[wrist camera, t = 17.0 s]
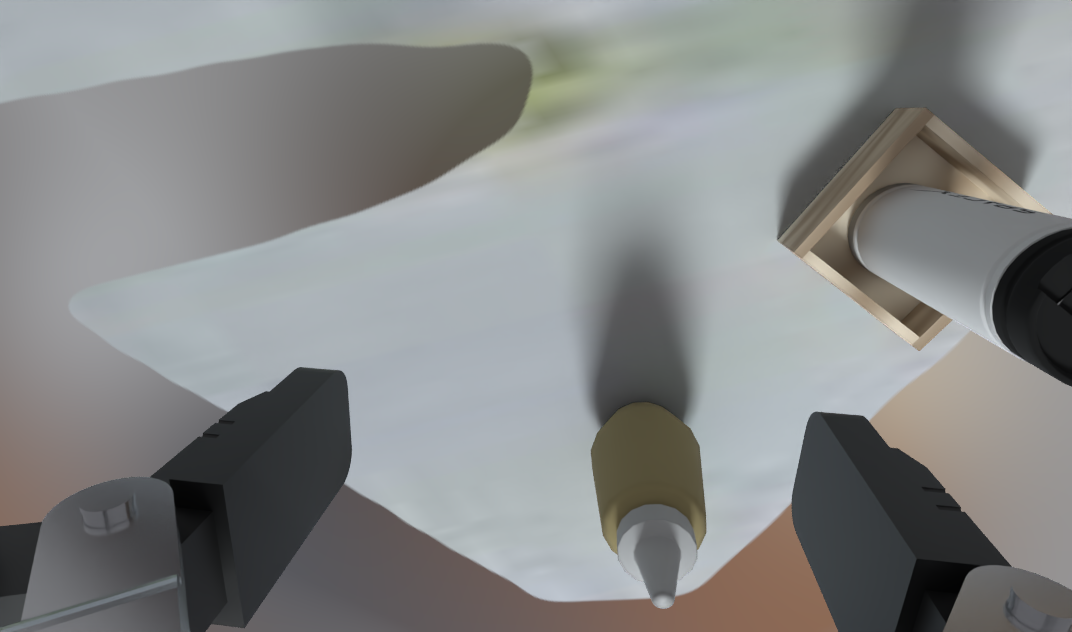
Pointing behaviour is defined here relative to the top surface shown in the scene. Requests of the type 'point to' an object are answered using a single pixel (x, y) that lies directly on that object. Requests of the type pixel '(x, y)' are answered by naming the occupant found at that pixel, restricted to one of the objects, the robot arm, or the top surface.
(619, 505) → the squeeze bottle
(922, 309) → the birch dock
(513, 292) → the top surface
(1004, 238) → the travel mug
